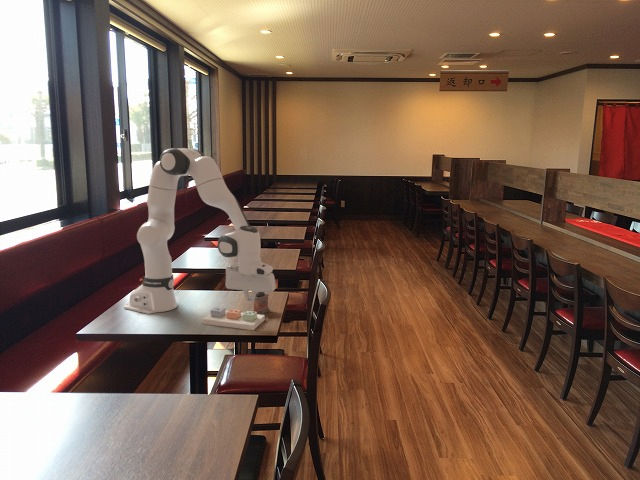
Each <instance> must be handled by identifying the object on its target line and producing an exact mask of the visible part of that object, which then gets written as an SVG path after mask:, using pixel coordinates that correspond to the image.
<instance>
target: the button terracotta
mask: <svg viewBox="0 0 640 480" xmlns="http://www.w3.org/2000/svg"><path fill="white" fill-rule="evenodd" d="M227 311H228V312H226V314H227V319H234V320H237V319H239V318H240V317H241V312H242V309H236V308H235V309H234V308H231V309H229V310H227Z"/></svg>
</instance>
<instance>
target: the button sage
mask: <svg viewBox="0 0 640 480" xmlns="http://www.w3.org/2000/svg"><path fill="white" fill-rule="evenodd" d="M243 313H244V314H243V321H250V322H254V321H255V320H256V319H257V312H254V310H253V311H252V310H246V311H244V312H243Z"/></svg>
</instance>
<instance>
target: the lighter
mask: <svg viewBox="0 0 640 480" xmlns="http://www.w3.org/2000/svg"><path fill="white" fill-rule="evenodd" d="M269 294H270V293H267V292H257V294H256V295H255V301H254V302H253V311H254V312H257V314H259V315H264V314H266V313H268V312H269V310H270V309H269Z"/></svg>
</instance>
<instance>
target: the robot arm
mask: <svg viewBox="0 0 640 480" xmlns="http://www.w3.org/2000/svg"><path fill="white" fill-rule="evenodd" d="M188 176H191V177H192V179H193V181H194V184H195V187H196V189H197V192H198V195H199V197H200V199H201V200H202V202H203V203H205V204H206V205H208V206H211V207H214V208H218V209H220V210H221V211H224V212H225V213H226V214H227V215H228V217H229V219H230V221H231V223H232V225H233V227H234V229H235V230H234V231H231V232H228V233H224V234H223V235H221V236H219V237H218V239H217V250H218V252H219V254H221V255H222V256H223V257H225V258H234V257H235V258H238V259H237V263H238V265H237V266H236V265H234V266H233V265H229V266H227V267H226V268H225V284H224V285H225V286H224V287H225V288H226V289H227V290H236V291H243V295H244V297H245V300H246V302H250V303H251V302H252V303H254V301H255V296H256V294H257V292H264V293H268V294H272V293H273V292H274V291H275V290H276V280H275V279H276V278H275V275H274V273H273V270H274V268H273V266H271V265H270V264H268V263H265V262H263V261H262V258H261V254H260V253H261V247H262V246H261V244H262V243H261V236H260V231H259V229H258V228H256V227H255V226H252V225H250V223H249V221H248V219H247V216H246V214H245V213H244V211H243V209H242V207H241V205H240V202H239V201H238V199H237V198H236V197H235V195H234V194H233V193H232V192H231V191H230V189H229V188H228V186H227V184H226V181H225V180H224V178H223V174H222V173H221V171H220V168H219V166H218V164H217V163H216V160H215V159H214V158H213V157H211V156H206V155H205V154H204V153H203V152H202V151H200V150H198V149H194V148H193V149H192V148H186V147H181V148H176V147H173V148H172V147H171V148H167V149H165V150H164V151H162V153H161V155H160V156H159V161H156V163H155V164H154V166H153V168H152V172H151V175H150V181H149V185H148V193H147V199H146V200H147V201H146V205H147V208H148V210H147V211H148V219H147V222H146V221H145V222H144V223H143V224H142V225H141V226H140V227H139V228H138V231H137V233H136V240H137V242H138V243H139V244H140V249H141V251H142V255H143V261H144V272H145V276H142V277H141V278H139V282H141V281H142V282H141V285H139V286H138V287H137V288H135V289H134V290H133V291H132V292H131V293H130V294H129V301H128V302H126V303H125V304H124V306H123V308H124V310H129V311H133V312H138V313H143V314H148V315H150V314H155V313H163V312H167V311H172V310H174V309H176V308H177V307H178V303H177V300H176V296H175V291H174V285H175V284H174V283H175V282H174V274H173V263H172V256H171V255H170V251H169V248H168V241H169V240H170V239H171V238H172V237H173V235H174V233H175V229H176V226H175V204H176V198H177V197H176V196H177V192H178V191H177V190H178V182H179V180H180V178H181V177H188ZM249 292H251V294H252V295H250V294H249Z"/></svg>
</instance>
